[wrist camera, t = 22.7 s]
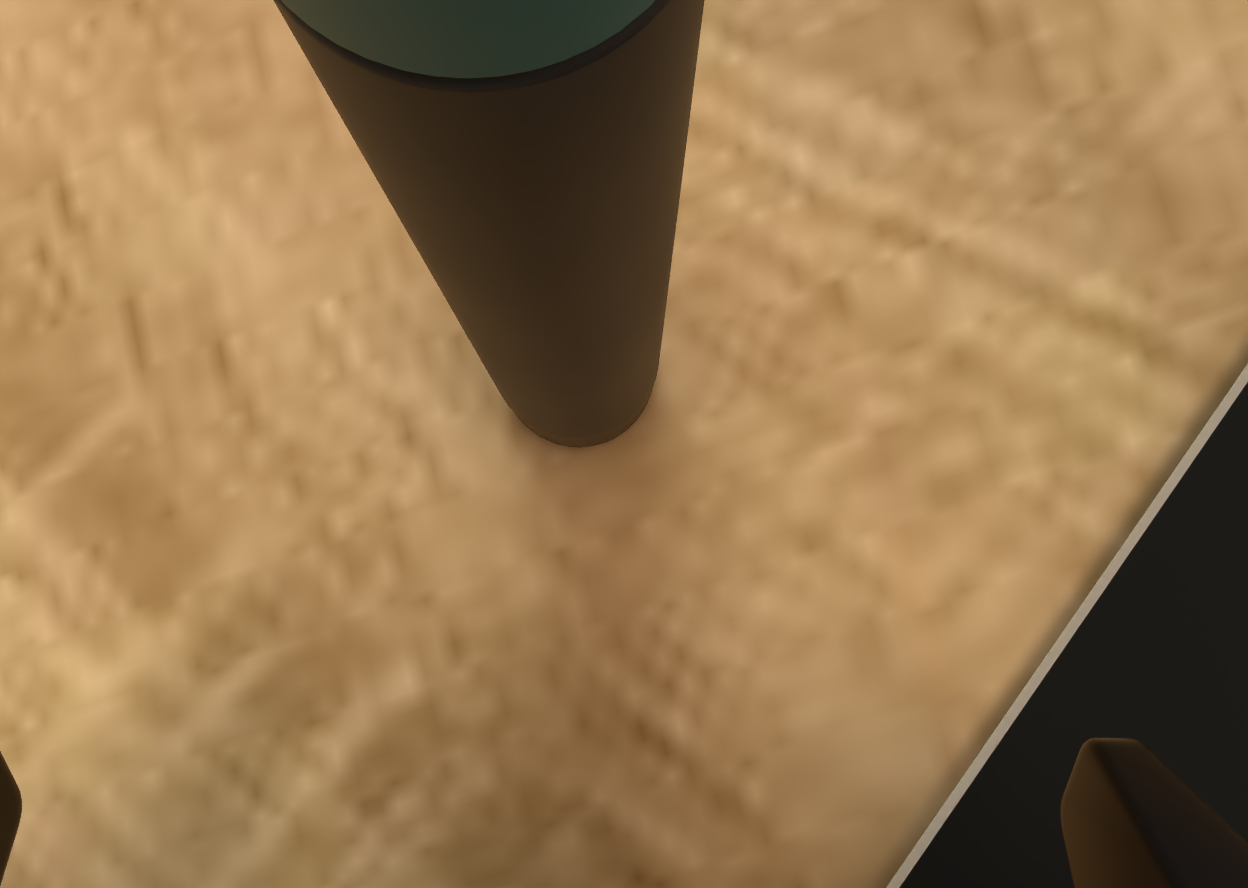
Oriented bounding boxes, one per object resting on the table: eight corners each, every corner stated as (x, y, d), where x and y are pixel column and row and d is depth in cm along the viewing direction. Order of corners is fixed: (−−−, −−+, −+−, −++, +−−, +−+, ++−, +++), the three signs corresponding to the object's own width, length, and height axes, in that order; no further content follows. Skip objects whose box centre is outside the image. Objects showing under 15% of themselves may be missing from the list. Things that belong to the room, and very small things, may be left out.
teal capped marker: (606, 479, 17) (544, 72, 4) (471, 401, 17) (20, -216, 4) (685, 346, 17) (849, -412, 5) (551, 271, 18) (347, -663, 5)
